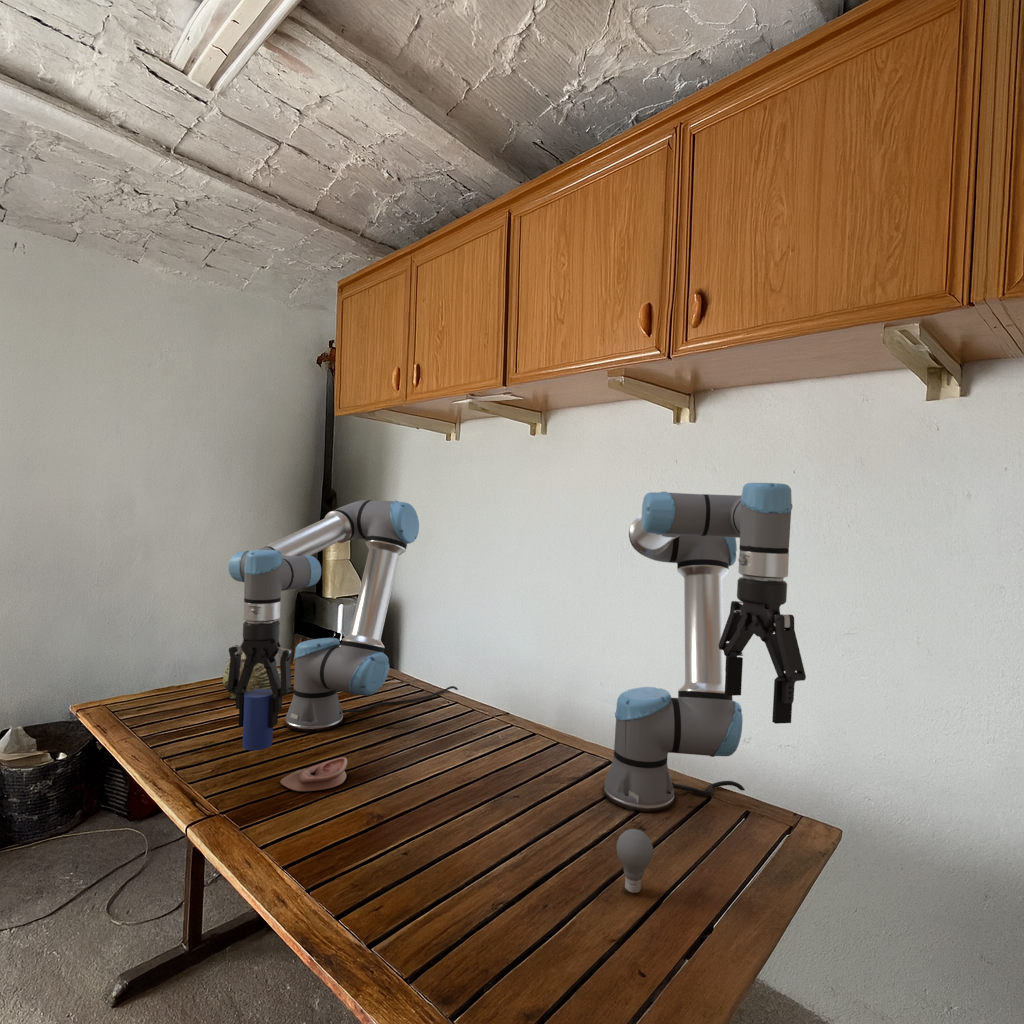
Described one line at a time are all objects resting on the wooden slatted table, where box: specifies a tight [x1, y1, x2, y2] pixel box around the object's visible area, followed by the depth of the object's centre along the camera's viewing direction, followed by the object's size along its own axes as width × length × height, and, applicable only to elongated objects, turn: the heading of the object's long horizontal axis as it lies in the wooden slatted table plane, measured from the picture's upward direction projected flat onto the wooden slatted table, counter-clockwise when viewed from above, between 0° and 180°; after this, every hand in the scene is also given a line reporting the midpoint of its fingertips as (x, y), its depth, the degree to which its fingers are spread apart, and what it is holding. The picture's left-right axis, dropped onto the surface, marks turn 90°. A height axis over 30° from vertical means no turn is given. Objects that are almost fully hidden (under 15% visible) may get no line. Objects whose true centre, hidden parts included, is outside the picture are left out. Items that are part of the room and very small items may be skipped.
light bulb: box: [615, 828, 654, 894], centre depth 106 cm, size 6×6×10 cm
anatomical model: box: [279, 756, 348, 792], centre depth 141 cm, size 13×4×12 cm
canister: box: [242, 689, 274, 752], centre depth 140 cm, size 6×6×12 cm
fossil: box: [222, 651, 281, 699], centre depth 198 cm, size 9×18×15 cm, turn 132°
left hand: (258, 724), depth 140 cm, fingers closed on canister, 6 cm apart
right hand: (755, 708), depth 103 cm, fingers open, 13 cm apart
